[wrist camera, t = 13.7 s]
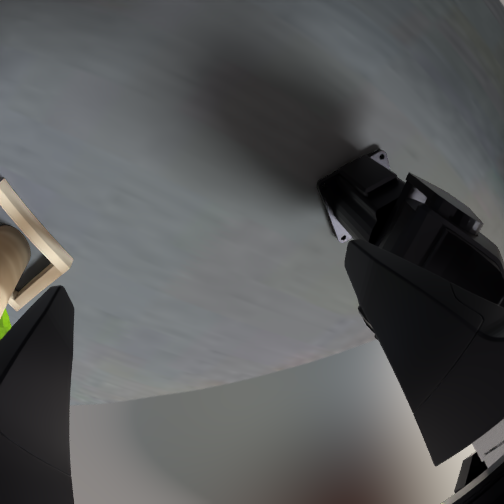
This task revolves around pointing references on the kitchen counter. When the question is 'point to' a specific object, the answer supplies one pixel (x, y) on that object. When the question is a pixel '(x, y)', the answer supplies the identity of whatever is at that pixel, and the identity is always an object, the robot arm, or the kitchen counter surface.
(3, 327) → the cloth
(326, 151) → the kitchen counter surface
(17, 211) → the birch collar
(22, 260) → the tall beech pin
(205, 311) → the kitchen counter surface
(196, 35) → the kitchen counter surface
